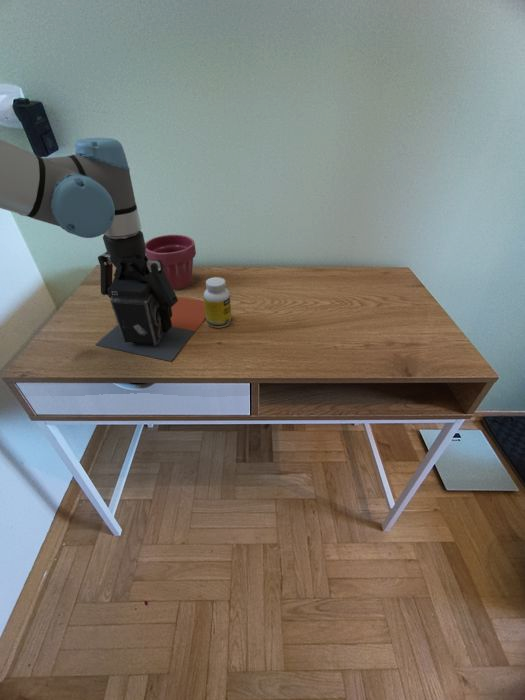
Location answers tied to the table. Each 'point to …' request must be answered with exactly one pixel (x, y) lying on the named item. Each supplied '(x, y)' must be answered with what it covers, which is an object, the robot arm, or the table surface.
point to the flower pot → (173, 257)
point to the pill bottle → (217, 303)
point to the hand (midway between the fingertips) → (146, 324)
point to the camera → (136, 311)
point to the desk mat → (183, 327)
